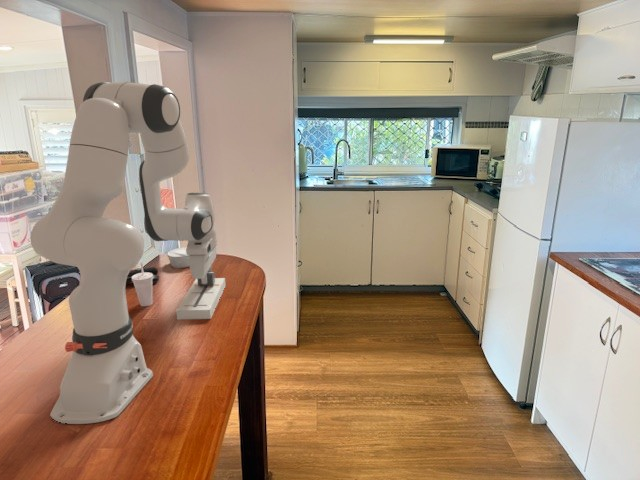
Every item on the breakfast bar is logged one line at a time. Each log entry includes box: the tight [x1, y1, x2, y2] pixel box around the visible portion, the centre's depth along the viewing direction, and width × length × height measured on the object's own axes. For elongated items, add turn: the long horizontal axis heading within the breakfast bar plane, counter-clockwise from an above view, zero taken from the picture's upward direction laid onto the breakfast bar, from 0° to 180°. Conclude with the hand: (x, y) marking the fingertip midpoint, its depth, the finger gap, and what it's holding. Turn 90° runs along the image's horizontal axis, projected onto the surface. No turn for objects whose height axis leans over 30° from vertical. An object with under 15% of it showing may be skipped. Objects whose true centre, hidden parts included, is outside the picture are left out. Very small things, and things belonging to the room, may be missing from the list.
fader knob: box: [197, 270, 216, 286], centre depth 143 cm, size 3×5×4 cm, turn 92°
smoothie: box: [132, 261, 154, 307], centre depth 136 cm, size 6×6×14 cm
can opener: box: [126, 266, 160, 285], centre depth 153 cm, size 18×7×6 cm, turn 108°
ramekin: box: [167, 246, 190, 269], centre depth 171 cm, size 11×11×5 cm
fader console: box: [175, 277, 226, 320], centre depth 139 cm, size 24×10×3 cm, turn 1°
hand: (206, 280), depth 143 cm, fingers closed on fader knob, 3 cm apart
